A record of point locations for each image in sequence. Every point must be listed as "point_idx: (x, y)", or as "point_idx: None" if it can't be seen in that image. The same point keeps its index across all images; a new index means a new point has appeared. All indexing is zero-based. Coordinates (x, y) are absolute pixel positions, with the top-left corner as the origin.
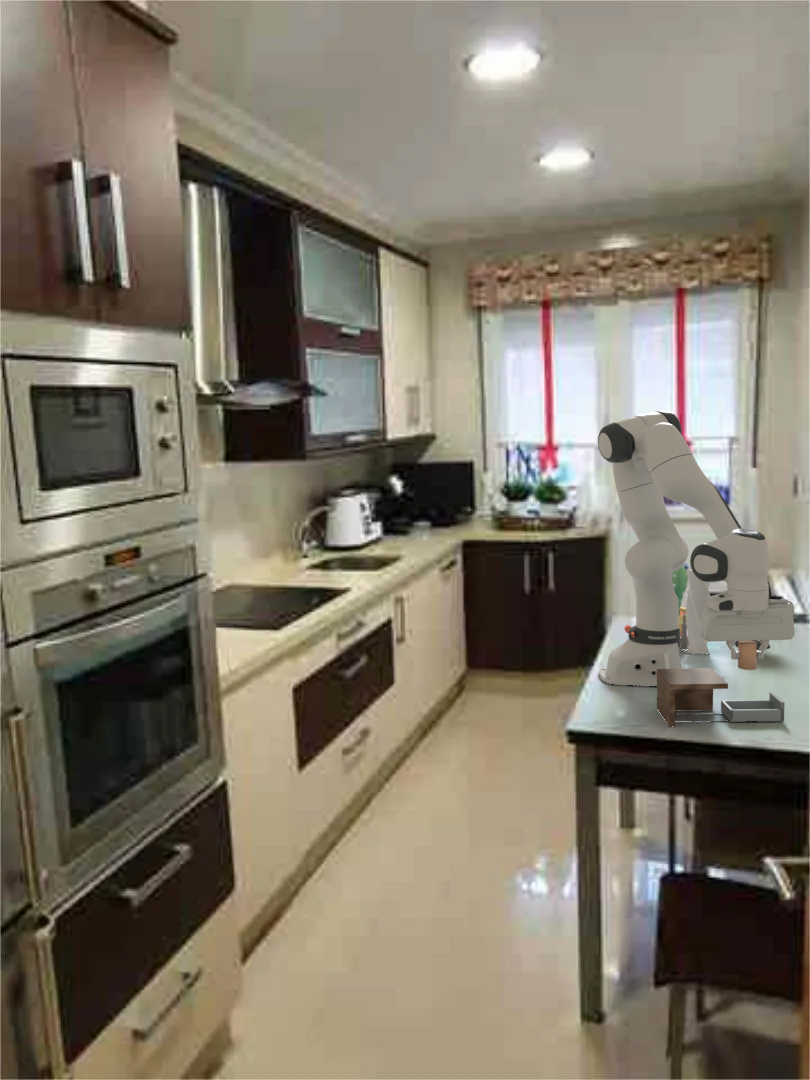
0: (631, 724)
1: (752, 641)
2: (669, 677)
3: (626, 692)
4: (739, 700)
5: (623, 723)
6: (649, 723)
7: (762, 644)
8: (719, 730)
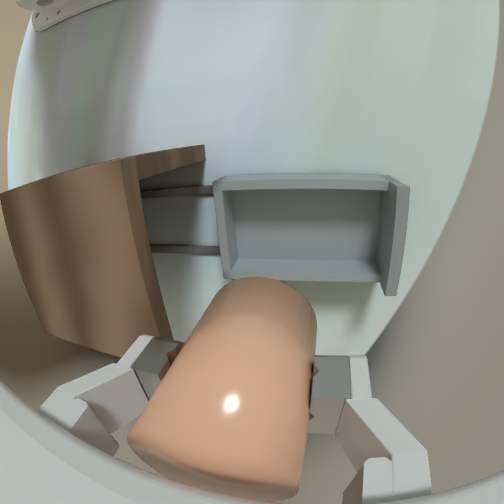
0: None
1: (267, 478)
2: (29, 281)
3: (51, 62)
4: (277, 182)
5: None
6: None
7: (376, 454)
8: (199, 304)
